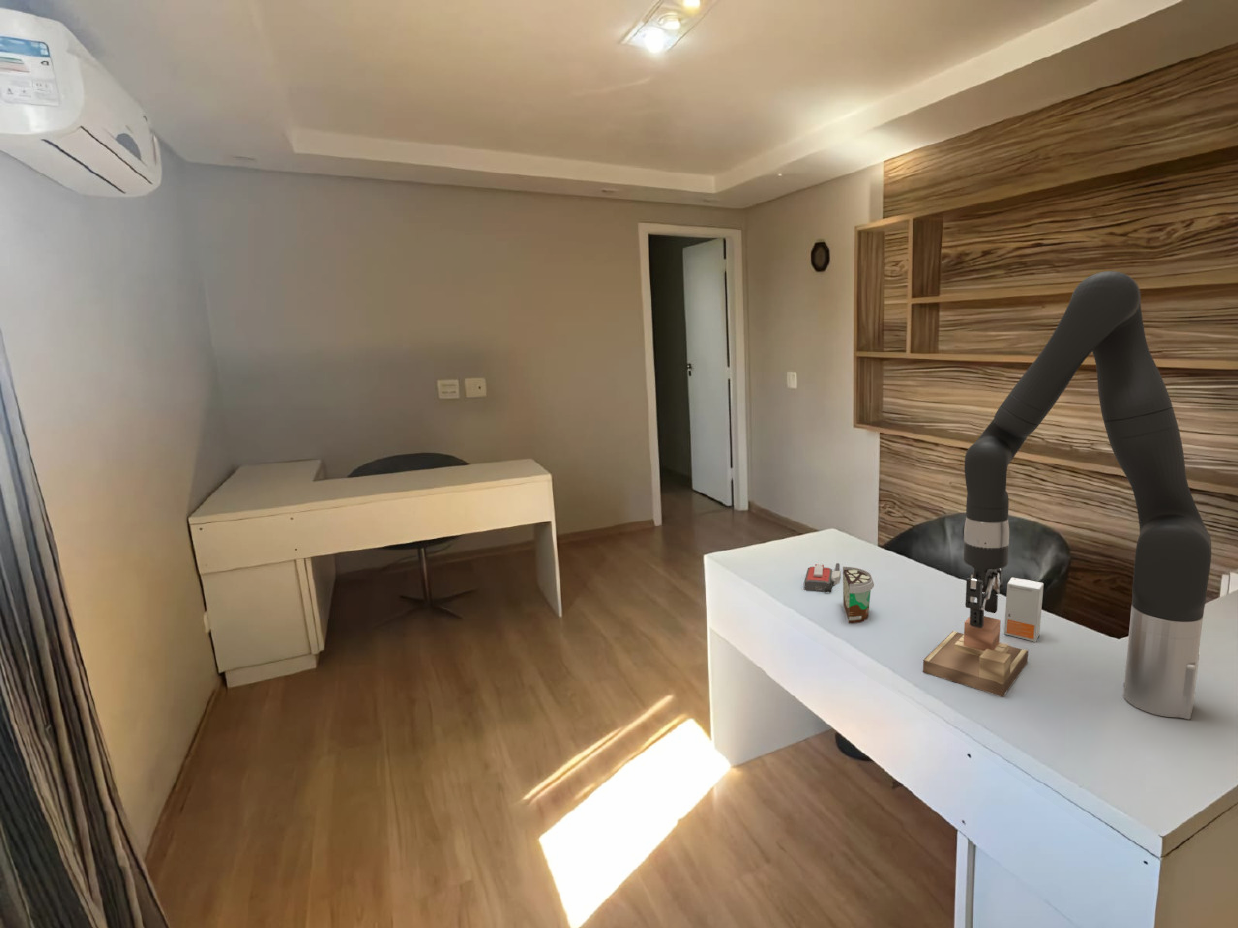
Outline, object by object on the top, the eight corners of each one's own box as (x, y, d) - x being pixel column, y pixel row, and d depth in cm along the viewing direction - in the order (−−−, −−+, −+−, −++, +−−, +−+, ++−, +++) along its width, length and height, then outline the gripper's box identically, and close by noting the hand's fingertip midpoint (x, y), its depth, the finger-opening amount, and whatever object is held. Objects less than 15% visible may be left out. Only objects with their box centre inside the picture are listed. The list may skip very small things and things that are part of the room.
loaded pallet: (1008, 650, 128) (1009, 621, 126) (998, 661, 123) (1000, 631, 122) (964, 638, 133) (966, 610, 132) (954, 649, 129) (955, 620, 128)
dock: (1027, 662, 127) (1028, 650, 127) (1002, 696, 116) (1003, 683, 116) (952, 641, 137) (952, 630, 137) (922, 671, 126) (923, 659, 126)
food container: (878, 626, 146) (878, 585, 144) (849, 625, 148) (849, 584, 146) (868, 604, 158) (869, 565, 156) (842, 603, 159) (842, 565, 157)
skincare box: (1003, 634, 139) (1006, 582, 136) (1008, 627, 142) (1011, 576, 140) (1036, 642, 135) (1039, 588, 132) (1040, 635, 138) (1044, 582, 135)
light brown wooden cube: (1010, 674, 119) (1010, 654, 118) (1003, 683, 116) (1003, 662, 115) (986, 668, 122) (986, 648, 121) (979, 676, 119) (979, 656, 118)
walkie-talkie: (838, 596, 165) (841, 568, 183) (838, 580, 164) (841, 554, 182) (803, 593, 168) (809, 566, 186) (802, 577, 167) (809, 552, 185)
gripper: (996, 553, 116) (993, 637, 119) (1018, 533, 126) (1015, 611, 129) (952, 546, 122) (950, 626, 125) (977, 528, 131) (975, 602, 134)
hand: (983, 618), depth 127 cm, fingers open, 8 cm apart
